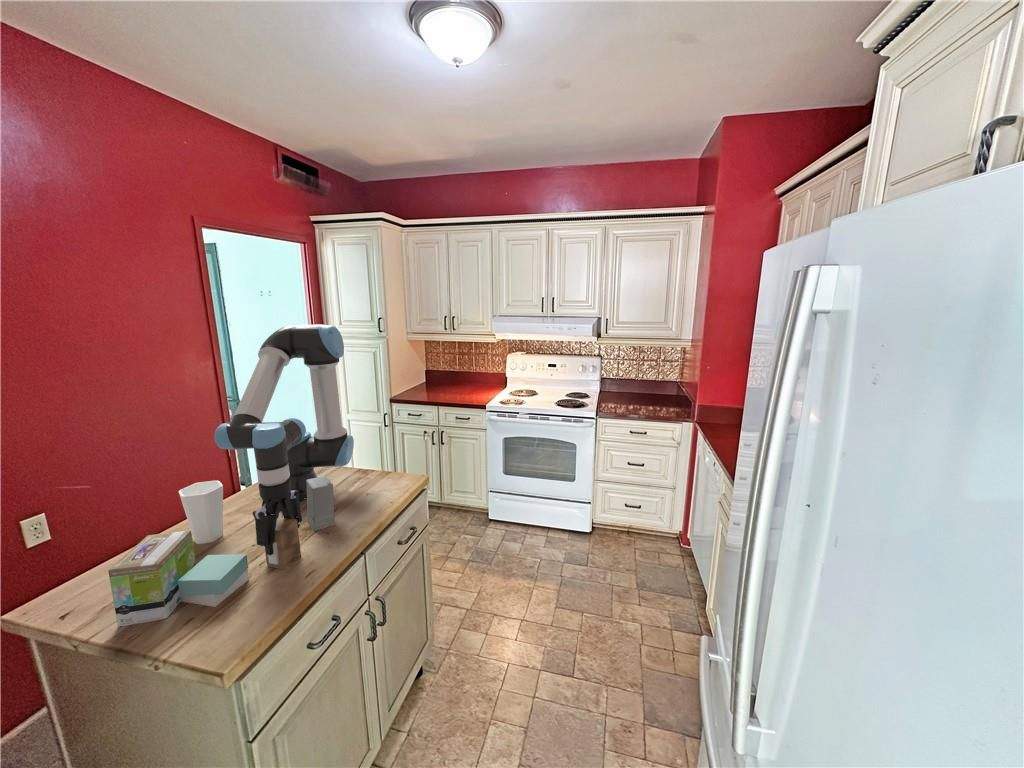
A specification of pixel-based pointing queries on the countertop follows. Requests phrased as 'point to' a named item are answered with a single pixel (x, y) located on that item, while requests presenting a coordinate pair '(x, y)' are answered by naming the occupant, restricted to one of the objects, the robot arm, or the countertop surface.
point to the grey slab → (215, 599)
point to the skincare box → (320, 502)
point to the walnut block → (286, 542)
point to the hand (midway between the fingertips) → (283, 555)
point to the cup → (204, 510)
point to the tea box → (151, 577)
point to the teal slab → (213, 575)
